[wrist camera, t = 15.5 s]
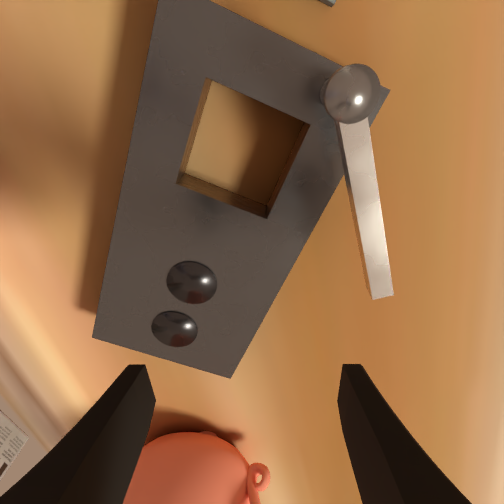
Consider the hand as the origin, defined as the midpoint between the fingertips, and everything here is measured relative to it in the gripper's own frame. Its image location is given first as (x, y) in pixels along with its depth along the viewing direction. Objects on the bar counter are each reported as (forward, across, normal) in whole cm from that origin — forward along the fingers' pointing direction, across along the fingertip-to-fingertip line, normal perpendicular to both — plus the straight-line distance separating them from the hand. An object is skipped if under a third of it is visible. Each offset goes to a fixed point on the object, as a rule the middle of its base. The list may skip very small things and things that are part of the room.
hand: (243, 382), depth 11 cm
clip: (+7, -5, -5) cm, 10 cm away
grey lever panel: (+9, +2, -2) cm, 10 cm away
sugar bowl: (+10, +6, +23) cm, 25 cm away
